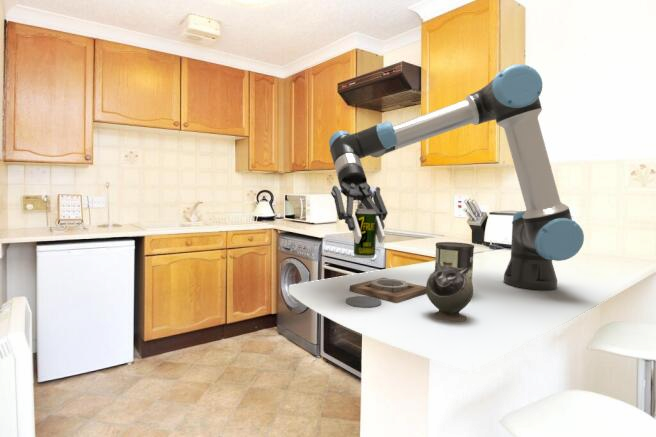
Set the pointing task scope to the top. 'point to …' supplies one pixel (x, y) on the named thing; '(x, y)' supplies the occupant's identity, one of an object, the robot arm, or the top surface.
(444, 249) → the coffee can
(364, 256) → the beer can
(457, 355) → the top surface
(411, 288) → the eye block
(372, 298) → the coaster
